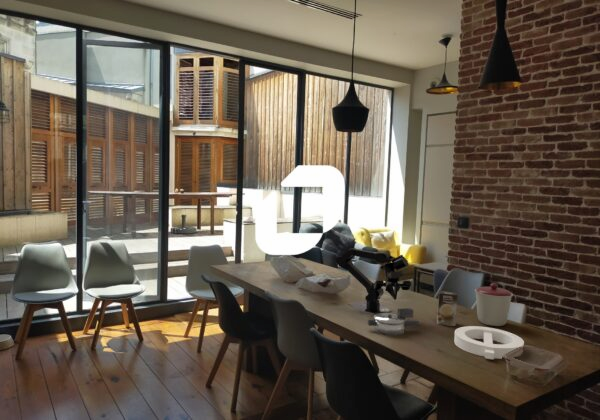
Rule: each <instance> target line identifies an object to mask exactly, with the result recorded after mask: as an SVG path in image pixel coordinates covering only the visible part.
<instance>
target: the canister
mask: <svg viewBox="0 0 600 420" xmlns="http://www.w3.org/2000/svg"><path fill="white" fill-rule="evenodd" d="M489 285H490V286H480V287H478V288H475V289H474V292H475V296H476V297H475V298H476V299H475V300H476V313H477V314H476V315H477V318H478V319H477V320H478V321H479V322H480V323H481V324H483V325H487V326H489V327H490V326H491V327H502V326H504V325H506V323H507V321H508V317H509V312H510V308H511V307H510V306H511V301H512V297H513V296H514V293H512V291H510V290H507V289H505V288H502V287H498V286H499V285H498V284H497V283H495V282H492V283H490V284H489Z"/></svg>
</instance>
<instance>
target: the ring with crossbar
mask: <svg viewBox="0 0 600 420" xmlns="http://www.w3.org/2000/svg"><path fill="white" fill-rule="evenodd" d="M476 339H482V340H483V342H482V341H479V340H476ZM453 342H454V344H455V345H456V347H458V348H459V349H461V350H463V351H465V352H468V353H470V354H472V355H473V354H474V355H476V356H481V357H483V358H484V359H487V360H495V359H497V360H498V359H500V360H501V359H502V356H503V355H504V354H506V353H508V352H510V351H512V350H514V349H516V348H519V347H523V346H524V347H525V341H524V339H523V338H522V337H520V336H518V335H517V334H514V333H511V332H510V331H506V330H503V329H499V328H493V327H490V326H489V327H487V326H478V325H477V326H476V325H475V326H474V325H468V326H461V327H458V328H456V329H455V330H454V341H453ZM494 342H498V344H495V343H494ZM499 343H500V344H499ZM502 360H503V359H502Z"/></svg>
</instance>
